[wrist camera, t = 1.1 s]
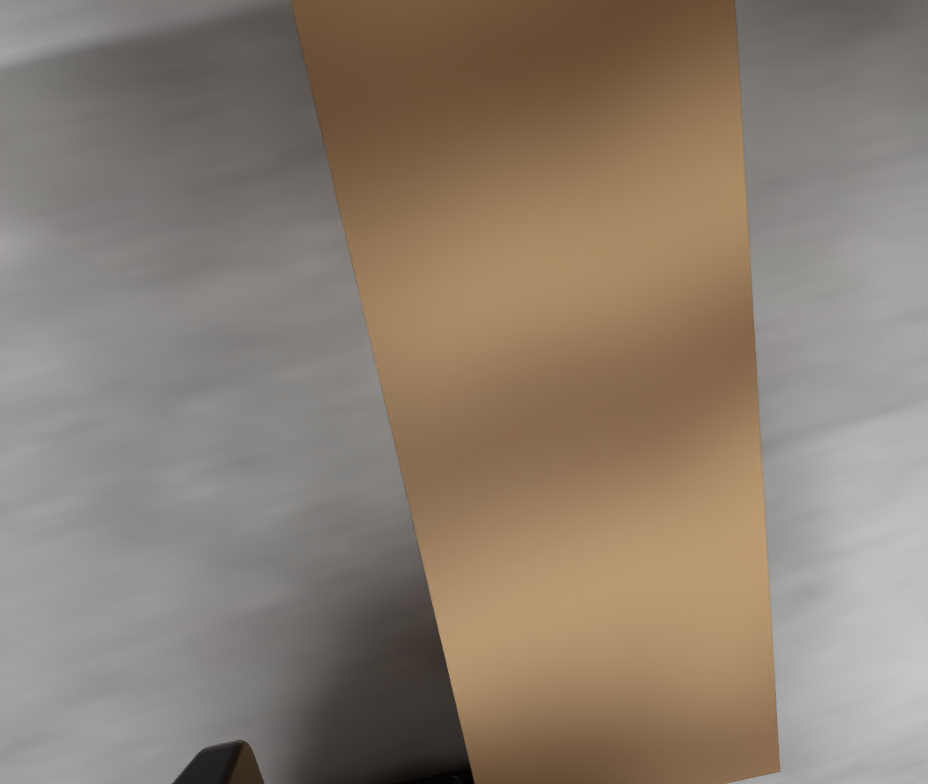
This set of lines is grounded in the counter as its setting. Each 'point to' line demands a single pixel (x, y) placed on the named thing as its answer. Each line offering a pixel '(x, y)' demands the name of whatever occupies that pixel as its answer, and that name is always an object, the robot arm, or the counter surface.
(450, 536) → the shelf plank
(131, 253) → the counter surface
